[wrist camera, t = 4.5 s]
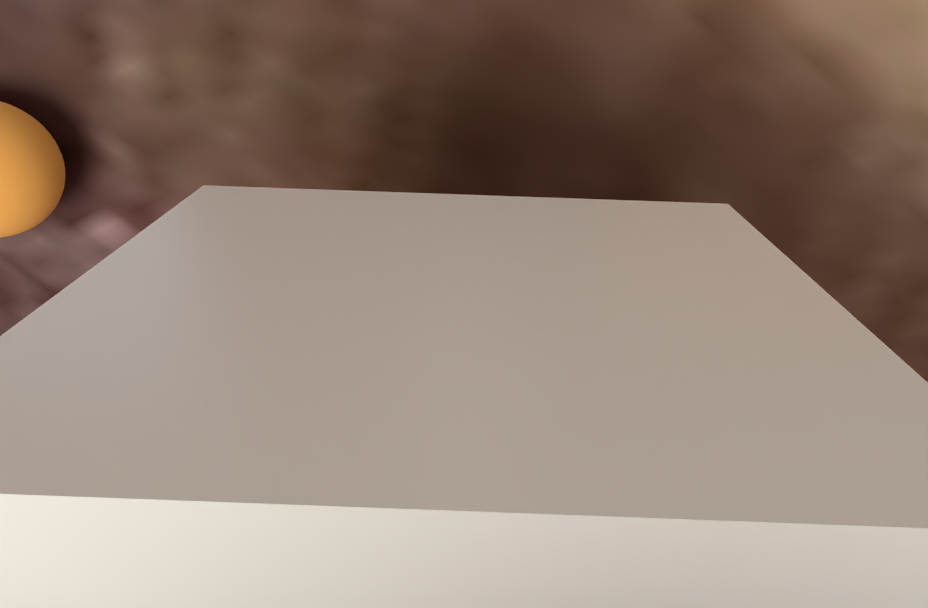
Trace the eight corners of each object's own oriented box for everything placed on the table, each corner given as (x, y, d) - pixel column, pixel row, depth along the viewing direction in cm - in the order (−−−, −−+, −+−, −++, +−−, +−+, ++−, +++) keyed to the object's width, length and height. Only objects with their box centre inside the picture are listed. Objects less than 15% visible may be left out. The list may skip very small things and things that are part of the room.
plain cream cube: (650, 586, 18) (792, 1083, 10) (255, 571, 18) (72, 1053, 10) (727, 204, 13) (1096, 535, 5) (203, 185, 13) (-204, 485, 5)
